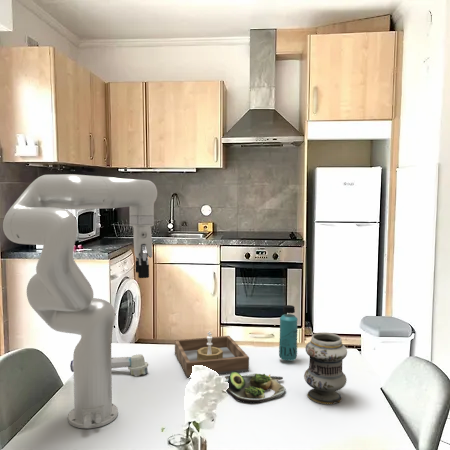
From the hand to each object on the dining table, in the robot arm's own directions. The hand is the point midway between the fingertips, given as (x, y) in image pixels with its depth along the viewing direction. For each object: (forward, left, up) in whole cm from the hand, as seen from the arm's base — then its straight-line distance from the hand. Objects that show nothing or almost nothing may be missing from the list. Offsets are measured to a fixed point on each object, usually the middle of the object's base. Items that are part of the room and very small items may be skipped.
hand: (142, 274), depth 138 cm
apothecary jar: (-28, -50, -34) cm, 66 cm away
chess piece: (+6, -24, -32) cm, 41 cm away
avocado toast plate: (-18, -31, -34) cm, 49 cm away
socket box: (+7, -24, -33) cm, 42 cm away
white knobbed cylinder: (+7, +10, -34) cm, 36 cm away
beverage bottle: (0, -51, -34) cm, 61 cm away
